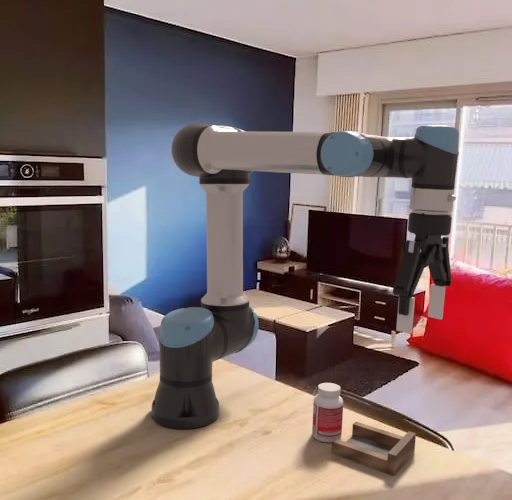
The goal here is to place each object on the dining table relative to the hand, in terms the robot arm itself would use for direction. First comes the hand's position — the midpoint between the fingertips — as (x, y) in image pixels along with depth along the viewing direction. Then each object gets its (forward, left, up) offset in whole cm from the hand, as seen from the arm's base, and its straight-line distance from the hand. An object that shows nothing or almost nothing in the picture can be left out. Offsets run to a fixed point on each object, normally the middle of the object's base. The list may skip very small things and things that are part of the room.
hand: (420, 324), depth 103 cm
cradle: (-7, -2, -27) cm, 28 cm away
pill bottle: (-17, -2, -28) cm, 33 cm away
